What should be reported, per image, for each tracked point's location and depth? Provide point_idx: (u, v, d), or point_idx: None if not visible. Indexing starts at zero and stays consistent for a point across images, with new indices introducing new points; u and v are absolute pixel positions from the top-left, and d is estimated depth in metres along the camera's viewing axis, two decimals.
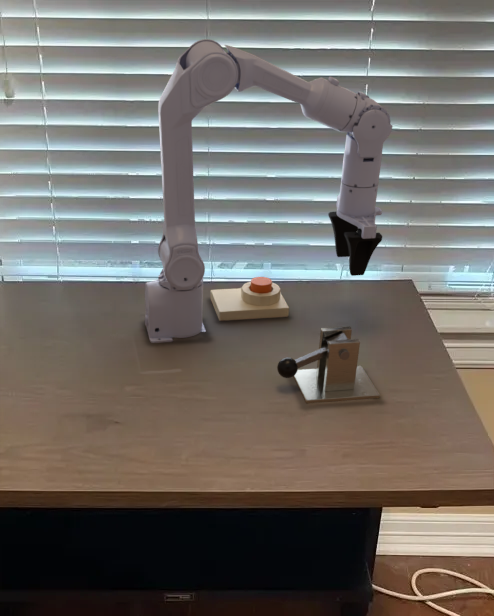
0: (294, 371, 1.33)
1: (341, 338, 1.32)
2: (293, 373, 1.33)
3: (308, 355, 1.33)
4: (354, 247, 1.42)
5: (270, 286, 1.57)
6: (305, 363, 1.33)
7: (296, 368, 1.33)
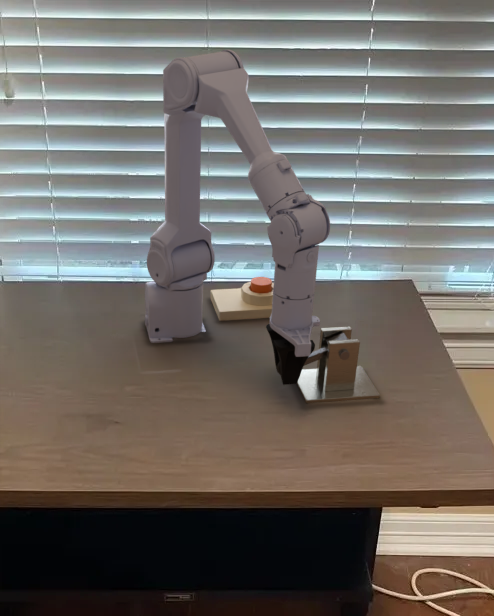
0: None
1: (341, 338, 1.32)
2: None
3: None
4: (284, 357, 1.29)
5: (270, 286, 1.57)
6: (305, 363, 1.33)
7: None
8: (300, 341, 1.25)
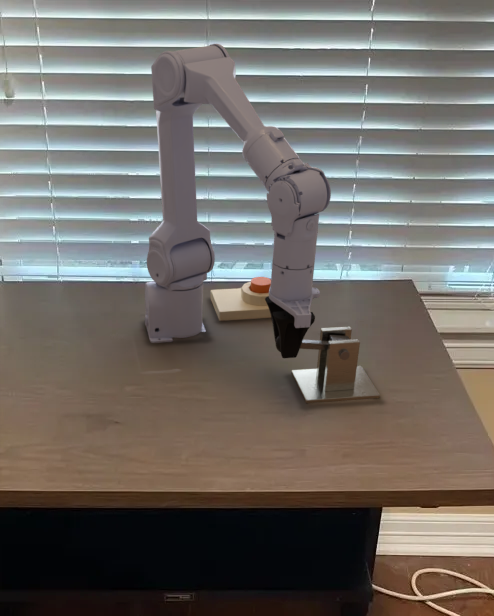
0: None
1: (345, 339, 1.32)
2: None
3: (309, 341, 1.32)
4: (283, 329, 1.26)
5: None
6: (304, 347, 1.32)
7: None
8: (300, 312, 1.22)
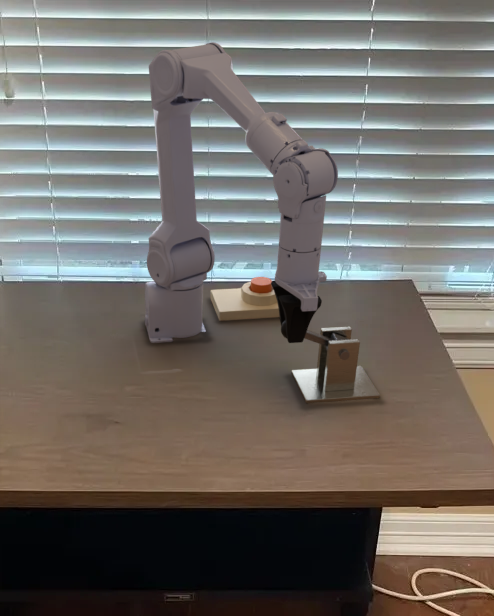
0: None
1: None
2: None
3: (313, 333, 1.31)
4: (290, 313, 1.25)
5: (270, 286, 1.57)
6: (307, 337, 1.31)
7: None
8: (306, 295, 1.21)
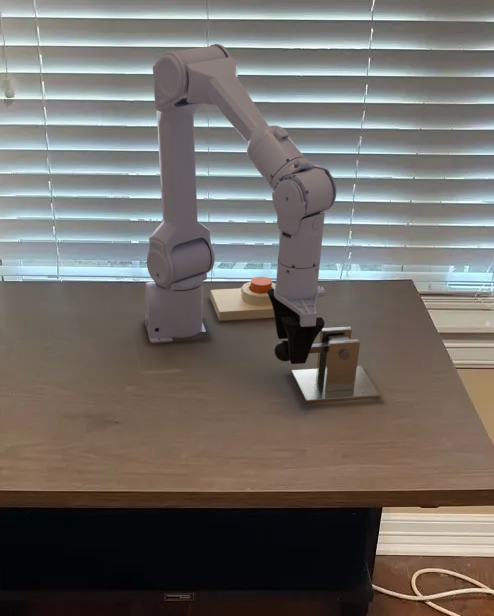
0: None
1: (344, 339, 1.32)
2: None
3: None
4: (292, 334, 1.25)
5: (270, 286, 1.57)
6: None
7: None
8: (305, 311, 1.22)
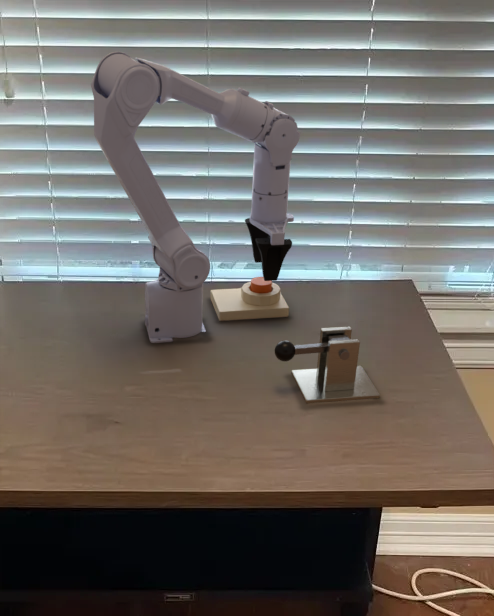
0: (291, 356, 1.32)
1: (344, 339, 1.32)
2: (290, 357, 1.32)
3: (308, 345, 1.33)
4: (265, 253, 1.45)
5: (270, 286, 1.57)
6: (303, 352, 1.32)
7: (294, 354, 1.32)
8: (275, 231, 1.43)
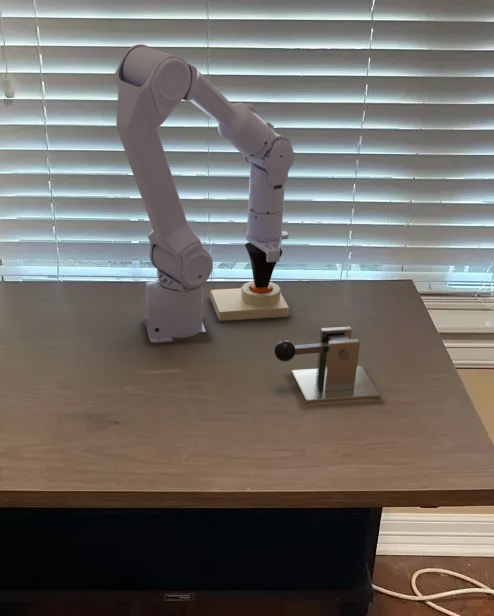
0: (291, 356, 1.32)
1: (344, 339, 1.32)
2: (290, 357, 1.32)
3: (308, 345, 1.33)
4: (256, 261, 1.53)
5: (270, 291, 1.57)
6: (303, 352, 1.32)
7: (294, 354, 1.32)
8: (271, 249, 1.48)
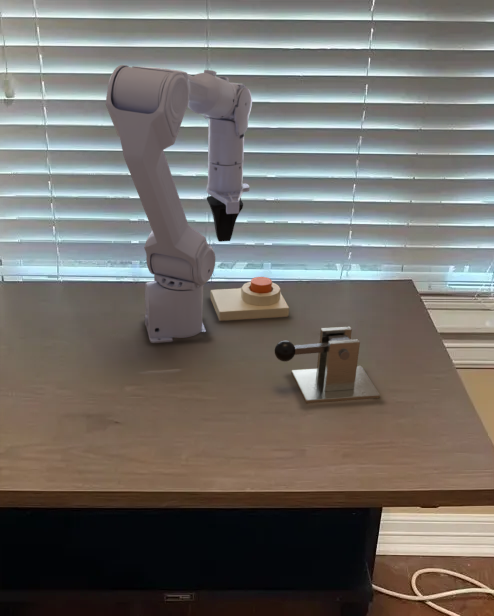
0: (291, 356, 1.32)
1: (344, 339, 1.32)
2: (290, 357, 1.32)
3: (308, 345, 1.33)
4: (217, 214, 1.53)
5: (270, 286, 1.57)
6: (303, 352, 1.32)
7: (294, 354, 1.32)
8: (230, 201, 1.48)
